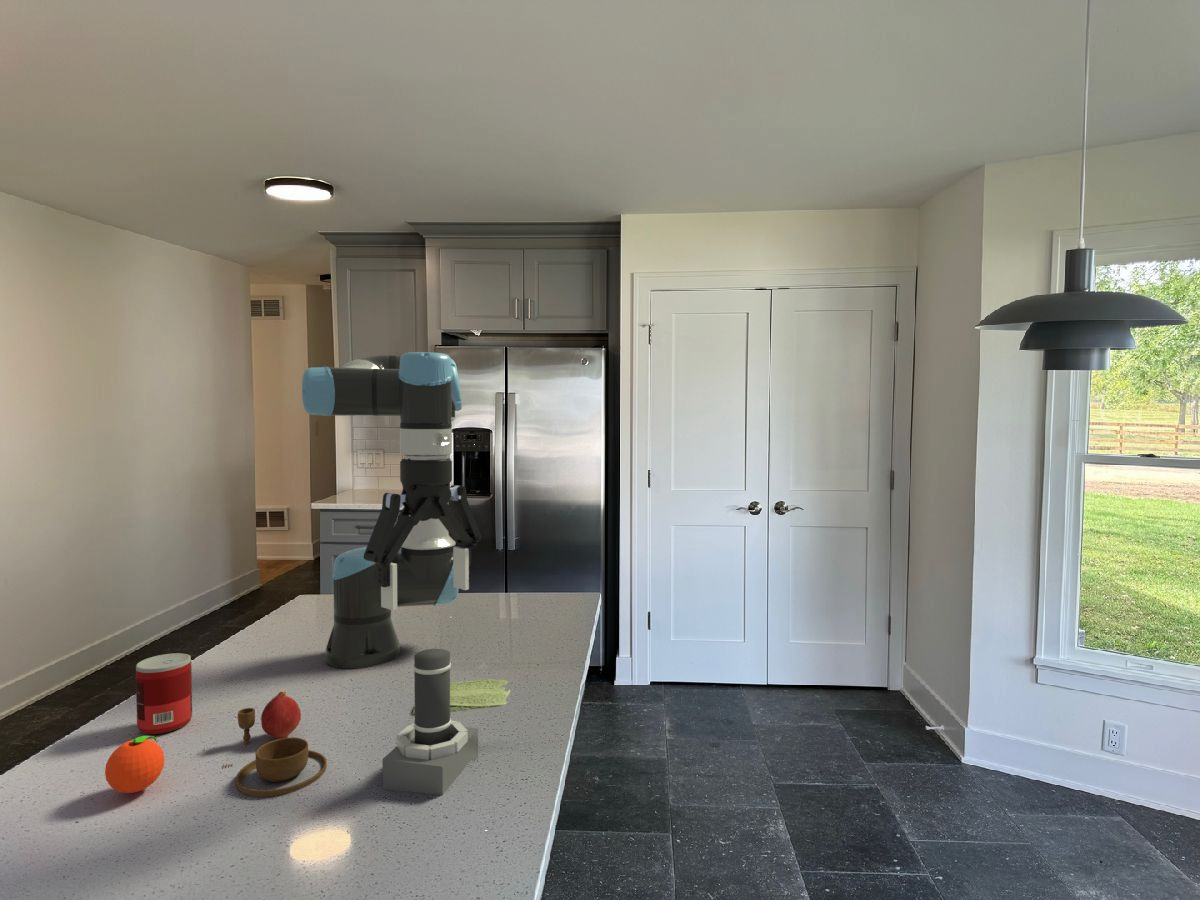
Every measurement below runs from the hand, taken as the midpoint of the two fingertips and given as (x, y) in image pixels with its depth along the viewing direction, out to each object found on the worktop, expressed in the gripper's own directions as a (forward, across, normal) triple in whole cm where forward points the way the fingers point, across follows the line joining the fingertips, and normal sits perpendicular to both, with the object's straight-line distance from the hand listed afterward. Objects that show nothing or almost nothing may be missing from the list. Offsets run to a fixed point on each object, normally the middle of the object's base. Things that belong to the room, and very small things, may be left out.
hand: (427, 598), depth 104 cm
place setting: (+26, -14, +16) cm, 33 cm away
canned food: (+26, -19, +45) cm, 55 cm away
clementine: (+25, -30, +26) cm, 47 cm away
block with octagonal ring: (+25, -3, -5) cm, 26 cm away
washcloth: (+26, +17, +11) cm, 33 cm away
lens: (+20, -3, -5) cm, 21 cm away
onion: (+26, -10, +24) cm, 36 cm away
